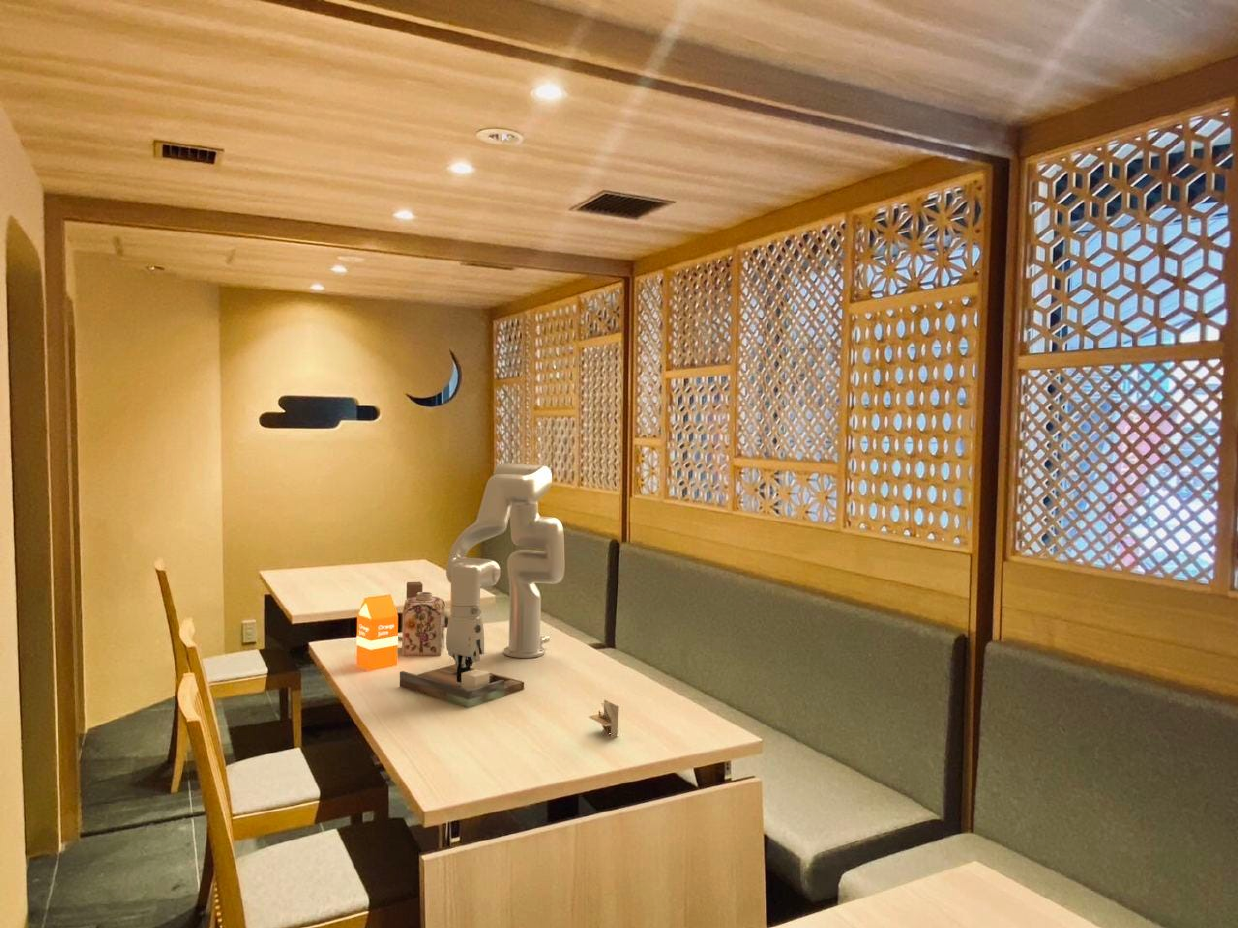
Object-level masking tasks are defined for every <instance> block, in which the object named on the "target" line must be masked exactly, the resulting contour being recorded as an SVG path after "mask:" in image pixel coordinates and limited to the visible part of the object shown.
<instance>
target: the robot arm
mask: <svg viewBox="0 0 1238 928" xmlns="http://www.w3.org/2000/svg"><path fill="white" fill-rule="evenodd" d="M552 483H553V474H552V471H551V469H550V468H549V467H548V466H546V465H543V464H532V463H531V464H529V463H511V462H510V463H501V464H499V465H496V466H495V468H494V470H493V475H492V476H491V477H490V478H488V480H487V483H486V486H485V489H484V493H483V495H482V500H481V502H480V506H479V510H478V513H477V517H476V520H475V521H474V522H473V523H472V524H470V525H469V526H468V527H467V528H465V530H463V531H462V533H460V534H459V536H458V537H457V538H456V539H455V541H454V542H453V544H452V546H451V548H450V553H449V555H448V560H447V563H446V566H445V567H446V568H445V569H446V570H445V576H446V580H447V581H448V583H449V584H450V599H449V601H450V605H449V606H450V607H449V615H448V619H447V620H448V621H447V625H446V635H445V646H446V647H445V648H446V651H447V655H448V656H449V657H451V658H452V659H453V660H454V664H455V665H456V666H457V682H460V683H461V677H462V673H463V672H467V671H470V668H471V667H472V666H473V664H474V663H478V662H480V661H481V656H482V655H483V654H485V633H484V632H485V630H484V629H485V628H484V623H483V618H482V617H481V616H480V615H481V613H482V611H481V609H480V607H481V604H480V603H481V589H488V588H492V587H493V586H495V585H496V584H497V583H498V582H499V581H500V577H501V575H502V573H501V571H502V569H501V566H500V565H499V563H498V562H497V561H495V560H493V559H489V558H479V557H478V558H477V557H466V556H467V555H468V552H469V551H470V550H471V549H472V548H473V547H474V546H477V545H478V544H479V543H482V542H484V541H487V540H489V539H491V538H495V537H496V536H499V535H501V534H503V533H505V531H506V529H507V527H508V523H509V522H510V523H509V524H510V526H509V527H510V536H511V537H510V538H511V541H512V543H513V544H514V545H515V546H517V547H521V548H532V549H534V548H535V549H544V550H545V551H542V550H529V549H519V550H515V551H512V552H511V553H510V555H508V558H507V561H506V569H507V576H508V582H509V583H508V585H509V606H508V607H509V611H508V614H509V615H508V646H505V647H504V648H503V649H502V651H503V654H504V655H505V656H507V657H511V658H517V659H526V658H527V659H531V658H538V657H540V656H541V657H542V656H543V655H545V653H546V649H545V648H544V647H543V644H546V643H550V636H548V635H546V636H541V612H542V611H541V609H542V605H541V604H542V598H541V597H542V595H541V592H540V590H539V588H538V587H537V585H536V583H538V584H539V583H541V584H552V585H553V584H558V583H560V582H561V581H562V580H563V579H564V575H565V566H566V565H565V538H564V537H565V536H564V527H563V525H562V522H561V521H560V520H559V519H558V518H556V517H552V516H541V515H540V514H539V500H541V499H542V498H543V497H544V496H545V495H546V494H547V493H548V492H549V491H550V489H551V487H552Z"/></svg>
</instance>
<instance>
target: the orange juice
mask: <svg viewBox="0 0 1238 928" xmlns="http://www.w3.org/2000/svg"><path fill="white" fill-rule="evenodd" d="M398 630H399V615H398V612H397V609H396V606H395V603H394V600H393V597H392V594H383V595H377V596H376V595H375V596H369V597H364V599H363V600H362V603H361V605H360V608H359V610H358V612H357V614H356V655H355V656H356V659H355V661H356V665H357V666H356V667H360V668H362V669H364V670H367V671H370V672H372V671H377V670H382V669H385V668H392V667H395V666H398V650H399V649H398V645H399V636H398V634H399V631H398Z"/></svg>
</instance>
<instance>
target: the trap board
mask: <svg viewBox="0 0 1238 928" xmlns="http://www.w3.org/2000/svg"><path fill="white" fill-rule="evenodd" d="M474 669H475V668H473V667H470V671H471V670H474ZM489 673H490V681H489V684H487V685H483V686H480V687H477V688H474V689H470V690H468V689H464V688H461V683H460V682H457V666H456V665H455V663H454V664H452V665H447V666H444V667H440V668H437V669H433V670H429V671H425V672H422V673H418V674H415V673H412V672H408V671H404V670H402V671H399V688H402V689H406V690H409V691H412V692H414V693H420V694H422V695H426V696H430V697H433V698H436V699H439V700H443V701H446V702H449V703H451V704H455V705H458V706H461V707H466V708H468V709H469V708H472V707H474V706H478V705H481V704H485V703H487V702H490V701H493V700H497V699H499V698H502V697H505V696H508V695H512V694H515V693H517V692H521V691H523V690H525V681H523V680H520V679H519V680H518V679H514V678H510V677H506V676H503V675H500V674H499V675H498V674H497V673H496V674H495V673H491V672H489Z"/></svg>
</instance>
